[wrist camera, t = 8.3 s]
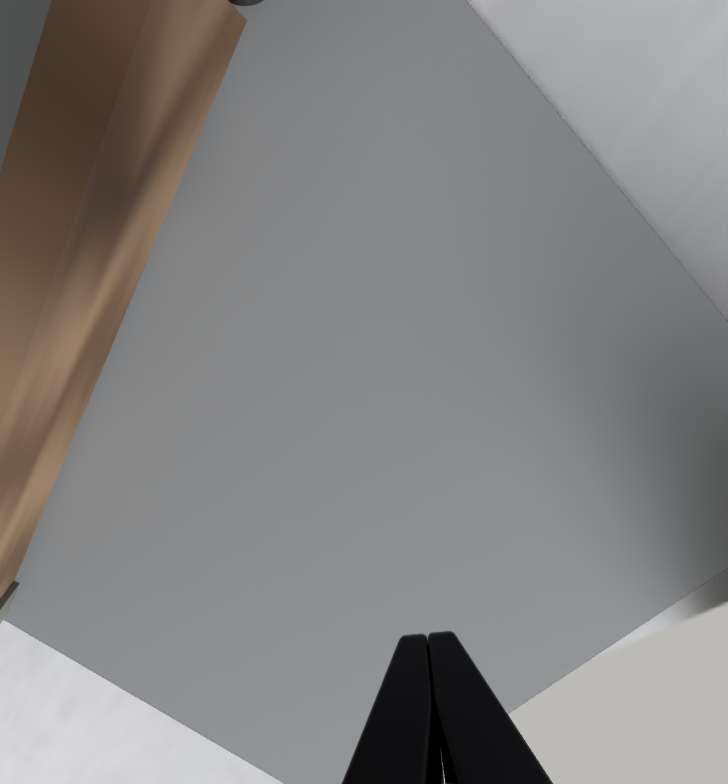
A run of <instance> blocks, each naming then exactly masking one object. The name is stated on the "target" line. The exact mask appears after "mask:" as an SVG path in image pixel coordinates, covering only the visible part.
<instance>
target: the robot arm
mask: <svg viewBox="0 0 728 784" xmlns="http://www.w3.org/2000/svg"><path fill="white" fill-rule="evenodd" d="M441 755H442V757H441ZM442 763H443V765H442ZM443 770H444V777H445V784H553V783H552V781H551V780H550V778H549V777H548V775H547V774H546V772H545V771H544V769H543V768H542V766H541V765H540V763H539V761H538V760H537V759H536V757H535V755H534V754H533V752H532V751H531V749H530V748H529V746H528V745H527V743H526V741H525V740H524V739H523V737H522V735H521V734H520V732H519V731H518V729H517V728H516V726H515V725H514V723H513V722H512V720H511V719H510V717H509V715H508V714H507V712H506V711H505V709H504V708H503V706H502V705H501V703H500V702H499V700H498V699H497V697H496V696H495V694H494V692H493V691H492V689H491V688H490V686H489V685H488V683H487V682H486V680H485V679H484V677H483V676H482V674H481V673H480V671H479V669H478V668H477V666H476V665H475V663H474V662H473V660H472V659H471V657H470V656H469V654H468V653H467V651H466V650H465V648H464V647H463V645H462V643H461V642H460V640H459V639H458V637H457V636H456V634H455V633H454V632H452V631H442V632H432V633H430V634H429V635H428V640H427V636H426V635H425V634H423V633H421V634H410V635H403V636H402V637H401V638H400V639H399V641H398V643H397V646H396V648H395V651H394V653H393V656H392V659H391V661H390V664H389V666H388V669H387V671H386V674H385V676H384V679H383V681H382V684H381V686H380V689H379V691H378V694H377V696H376V699H375V701H374V704H373V706H372V709H371V711H370V714H369V716H368V719H367V721H366V724H365V726H364V729H363V731H362V734H361V736H360V739H359V741H358V744H357V746H356V749H355V751H354V754H353V756H352V759H351V761H350V764H349V766H348V769H347V771H346V774H345V776H344V779H343V781H342V784H444V777H443Z"/></svg>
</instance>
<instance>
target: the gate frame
mask: <svg viewBox="0 0 728 784" xmlns="http://www.w3.org/2000/svg"><path fill="white" fill-rule="evenodd" d="M50 4H51V0H0V170H1V167H2V164H3V160H4V157H5V154H6V150H7V147H8V144H9V140H10V137H11V134H12V130H13V127H14V124H15V120H16V117H17V114H18V110H19V107H20V104H21V100H22V97H23V94H24V90H25V87H26V84H27V80H28V77H29V74H30V70H31V67H32V64H33V60H34V57H35V54H36V50H37V47H38V44H39V40H40V37H41V34H42V30H43V27H44V24H45V20H46V17H47V14H48V10H49V7H50ZM231 4H232V3H231ZM232 5H233V6H234V7H235V8H236V9H237V10H238V11H239V12H240V13H241V14H242V15H243V16H244V17H245V18H246V19H247V22H246V25H245V27H244V29H243V32H242V34H241V37H240V39H239V41H238V44H237V46H236V49H235V51H234V53H233V56H232V58H231V61H230V63H229V65H228V68H227V70H226V73H225V75H224V78H223V80H222V82H221V85H220V87H219V90H218V92H217V94H216V97H215V99H214V102H213V104H212V106H211V109H210V111H209V114H208V116H207V118H206V121H205V123H204V126H203V128H202V130H201V133H200V135H199V138H198V140H197V142H196V145H195V147H194V150H193V152H192V154H191V157H190V159H189V162H188V164H187V166H186V169H185V171H184V174H183V176H182V178H181V181H180V183H179V186H178V188H177V191H176V193H175V195H174V198H173V200H172V203H171V205H170V207H169V210H168V212H167V215H166V217H165V219H164V222H163V224H162V227H161V229H160V231H159V234H158V236H157V239H156V241H155V243H154V246H153V248H152V251H151V253H150V255H149V258H148V260H147V263H146V265H145V267H144V270H143V272H142V275H141V277H140V279H139V282H138V284H137V287H136V289H135V291H134V294H133V296H132V299H131V301H130V304H129V306H128V308H127V311H126V313H125V316H124V318H123V320H122V323H121V325H120V328H119V330H118V332H117V335H116V337H115V340H114V342H113V344H112V347H111V349H110V352H109V354H108V356H107V359H106V361H105V364H104V366H103V368H102V371H101V373H100V376H99V378H98V380H97V383H96V385H95V388H94V390H93V392H92V395H91V397H90V400H89V402H88V404H87V407H86V409H85V412H84V414H83V417H82V419H81V421H80V424H79V426H78V429H77V431H76V433H75V436H74V438H73V441H72V443H71V445H70V448H69V450H68V453H67V455H66V457H65V460H64V462H63V465H62V467H61V469H60V472H59V474H58V477H57V479H56V481H55V484H54V486H53V489H52V491H51V493H50V496H49V498H48V501H47V503H46V505H45V508H44V510H43V513H42V515H41V517H40V520H39V522H38V525H37V527H36V530H35V532H34V534H33V537H32V539H31V542H30V544H29V546H28V549H27V551H26V554H25V556H24V558H23V561H22V563H21V566H20V568H19V570H18V573H17V575H16V578H15V580H14V581H16V582H19V583H20V585H19V587H18V589H17V592H16V594H15V596H14V599H13V601H12V603H11V606H10V608H9V611H8V613H7V615H6V617H5V618H4V619H3V620H5V621H7V622H9V623H10V624H12V625H14V626H15V627H17V628H19V629H21V630H22V631H24V632H26V633H27V634H29V635H31V636H33V637H34V638H36V639H38V640H39V641H41V642H43V643H45V644H46V645H48V646H50V647H51V648H53V649H55V650H57V651H58V652H60V653H62V654H63V655H65V656H67V657H69V658H70V659H72V660H74V661H75V662H77V663H79V664H81V665H82V666H84V667H86V668H87V669H89V670H91V671H93V672H94V673H96V674H98V675H99V676H101V677H103V678H104V679H106V680H108V681H110V682H111V683H113V684H115V685H116V686H118V687H120V688H122V689H123V690H125V691H127V692H128V693H130V694H132V695H134V696H135V697H137V698H139V699H140V700H142V701H144V702H146V703H147V704H149V705H151V706H152V707H154V708H156V709H158V710H159V711H161V712H163V713H164V714H166V715H168V716H170V717H171V718H173V719H175V720H176V721H178V722H180V723H182V724H183V725H185V726H187V727H188V728H190V729H192V730H194V731H195V732H197V733H199V734H200V735H202V736H204V737H206V738H207V739H209V740H211V741H212V742H214V743H216V744H218V745H219V746H221V747H223V748H224V749H226V750H228V751H229V752H231V753H233V754H235V755H236V756H238V757H240V758H241V759H243V760H245V761H247V762H248V763H250V764H252V765H253V766H255V767H257V768H259V769H260V770H262V771H264V772H265V773H267V774H269V775H271V776H272V777H274V778H276V779H277V780H279V781H281V782H283V783H284V784H342V781H343V779H344V776H345V774H346V771H347V769H348V766H349V764H350V761H351V759H352V756H353V754H354V751H355V749H356V746H357V744H358V741H359V739H360V736H361V734H362V731H363V729H364V726H365V724H366V721H367V719H368V716H369V714H370V711H371V709H372V706H373V704H374V701H375V699H376V696H377V694H378V691H379V689H380V686H381V684H382V681H383V679H384V676H385V674H386V671H387V669H388V666H389V664H390V661H391V659H392V656H393V653H394V651H395V648H396V646H397V643H398V641H399V639H400V638H401V637H402V636H403V635H410V634H421V633H423V634H425V635H426V636H427V640H428V635H429V634H430V633H432V632H442V631H452V632H454V633H455V634H456V636H457V637H458V639H459V640H460V642H461V643H462V645H463V647H464V648H465V650H466V651H467V653H468V654H469V656H470V657H471V659H472V660H473V662H474V663H475V665H476V666H477V668H478V669H479V671H480V673H481V674H482V676H483V677H484V679H485V680H486V682H487V683H488V685H489V686H490V688H491V689H492V691H493V692H494V694H495V696H496V697H497V699H498V700H499V702H500V703H501V705H502V706H503V708H504V709H505V711H506V712H507V714H509V713H510V712H512V711H513V710H515V709H516V708H518V707H519V706H521V705H522V704H524V703H525V702H527V701H528V700H530V699H531V698H533V697H534V696H536V695H537V694H539V693H540V692H542V691H543V690H545V689H546V688H548V687H549V686H551V685H552V684H554V683H555V682H557V681H558V680H560V679H561V678H563V677H564V676H566V675H567V674H569V673H570V672H572V671H573V670H575V669H577V668H578V667H579V666H581V665H583V664H584V663H586V662H587V661H589V660H590V659H592V658H593V657H595V656H596V655H598V654H599V653H601V652H602V651H604V650H605V649H607V648H608V647H610V646H611V645H613V644H614V643H616V642H617V641H619V640H620V639H622V638H623V637H625V636H626V635H628V634H629V633H631V632H632V631H634V630H635V629H637V628H638V627H640V626H641V625H643V624H644V623H646V622H647V621H649V620H650V619H652V618H653V617H655V616H656V615H658V614H659V613H661V612H662V611H664V610H665V609H667V608H668V607H670V606H671V605H673V604H674V603H676V602H677V601H679V600H680V599H682V598H683V597H685V596H686V595H688V594H689V593H691V592H692V591H694V590H695V589H697V588H698V587H700V586H701V585H703V584H704V583H706V582H707V581H709V580H710V579H712V578H713V577H715V576H716V575H718V574H719V573H721V572H722V571H724V570H725V569H727V568H728V321H727V320H726V318H725V317H724V316H723V315H722V313H721V312H720V311H719V310H718V308H717V307H716V306H715V305H714V304H713V302H712V301H711V300H710V299H709V297H708V296H707V295H706V294H705V293H704V291H703V290H702V289H701V288H700V286H699V285H698V284H697V283H696V281H695V280H694V279H693V278H692V277H691V275H690V274H689V273H688V272H687V270H686V269H685V268H684V267H683V266H682V264H681V263H680V262H679V261H678V259H677V258H676V257H675V256H674V255H673V253H672V252H671V251H670V250H669V248H668V247H667V246H666V245H665V243H664V242H663V241H662V240H661V239H660V237H659V236H658V235H657V234H656V232H655V231H654V230H653V229H652V228H651V226H650V225H649V224H648V223H647V221H646V220H645V219H644V218H643V217H642V215H641V214H640V213H639V212H638V210H637V209H636V208H635V207H634V205H633V204H632V203H631V202H630V201H629V199H628V198H627V197H626V196H625V194H624V193H623V192H622V191H621V190H620V188H619V187H618V186H617V185H616V183H615V182H614V181H613V180H612V178H611V177H610V176H609V175H608V174H607V172H606V171H605V170H604V169H603V167H602V166H601V165H600V164H599V163H598V161H597V160H596V159H595V158H594V156H593V155H592V154H591V153H590V152H589V150H588V149H587V148H586V147H585V145H584V144H583V143H582V142H581V140H580V139H579V138H578V137H577V136H576V134H575V133H574V132H573V131H572V129H571V128H570V127H569V126H568V125H567V123H566V122H565V121H564V120H563V118H562V117H561V116H560V115H559V114H558V112H557V111H556V110H555V109H554V107H553V106H552V105H551V104H550V102H549V101H548V100H547V99H546V98H545V96H544V95H543V94H542V93H541V91H540V90H539V89H538V88H537V87H536V85H535V84H534V83H533V82H532V80H531V79H530V78H529V77H528V76H527V74H526V73H525V72H524V71H523V69H522V68H521V67H520V66H519V64H518V63H517V62H516V61H515V60H514V58H513V57H512V56H511V55H510V53H509V52H508V51H507V50H506V49H505V47H504V46H503V45H502V44H501V42H500V41H499V40H498V39H497V37H496V36H495V35H494V34H493V33H492V31H491V30H490V29H489V28H488V26H487V25H486V24H485V23H484V22H483V20H482V19H481V18H480V17H479V15H478V14H477V13H476V12H475V11H474V9H473V8H472V7H471V6H470V4H469V3H468V2H467V1H466V0H264V1H262V2H260V3H258V4H256V5H252V6H238V5H234V4H232ZM441 757H442V755H441Z"/></svg>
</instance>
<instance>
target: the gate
mask: <svg viewBox="0 0 728 784" xmlns="http://www.w3.org/2000/svg"><path fill="white" fill-rule="evenodd" d="M262 1H264V0H51V4H50V7H49V10H48V14H47V17H46V20H45V24H44V27H43V30H42V34H41V37H40V40H39V44H38V47H37V50H36V54H35V57H34V60H33V64H32V67H31V70H30V74H29V77H28V80H27V84H26V87H25V90H24V94H23V97H22V100H21V104H20V107H19V110H18V114H17V117H16V120H15V124H14V127H13V130H12V134H11V137H10V140H9V144H8V147H7V150H6V154H5V157H4V160H3V164H2V167H1V170H0V624H1V622H2V621H3V619H4V618H5V617H6V615H7V613H8V611H9V608H10V606H11V603H12V601H13V599H14V596H15V594H16V592H17V589H18V587H19V585H20V583H19V582H16V581H14V580H15V578H16V575H17V573H18V570H19V568H20V566H21V563H22V561H23V558H24V556H25V554H26V551H27V549H28V546H29V544H30V542H31V539H32V537H33V534H34V532H35V530H36V527H37V525H38V522H39V520H40V517H41V515H42V513H43V510H44V508H45V505H46V503H47V501H48V498H49V496H50V493H51V491H52V489H53V486H54V484H55V481H56V479H57V477H58V474H59V472H60V469H61V467H62V465H63V462H64V460H65V457H66V455H67V453H68V450H69V448H70V445H71V443H72V441H73V438H74V436H75V433H76V431H77V429H78V426H79V424H80V421H81V419H82V417H83V414H84V412H85V409H86V407H87V404H88V402H89V400H90V397H91V395H92V392H93V390H94V388H95V385H96V383H97V380H98V378H99V376H100V373H101V371H102V368H103V366H104V364H105V361H106V359H107V356H108V354H109V352H110V349H111V347H112V344H113V342H114V340H115V337H116V335H117V332H118V330H119V328H120V325H121V323H122V320H123V318H124V316H125V313H126V311H127V308H128V306H129V304H130V301H131V299H132V296H133V294H134V291H135V289H136V287H137V284H138V282H139V279H140V277H141V275H142V272H143V270H144V267H145V265H146V263H147V260H148V258H149V255H150V253H151V251H152V248H153V246H154V243H155V241H156V239H157V236H158V234H159V231H160V229H161V227H162V224H163V222H164V219H165V217H166V215H167V212H168V210H169V207H170V205H171V203H172V200H173V198H174V195H175V193H176V191H177V188H178V186H179V183H180V181H181V178H182V176H183V174H184V171H185V169H186V166H187V164H188V162H189V159H190V157H191V154H192V152H193V150H194V147H195V145H196V142H197V140H198V138H199V135H200V133H201V130H202V128H203V126H204V123H205V121H206V118H207V116H208V114H209V111H210V109H211V106H212V104H213V102H214V99H215V97H216V94H217V92H218V90H219V87H220V85H221V82H222V80H223V78H224V75H225V73H226V70H227V68H228V65H229V63H230V61H231V58H232V56H233V53H234V51H235V49H236V46H237V44H238V41H239V39H240V37H241V34H242V32H243V29H244V27H245V25H246V22H247V19H246V18H245V17H244V16H243V15H242V14H241V13H240V12H239V11H238V10H237V9H236V8H235V7H234V6H233V5H232V4H234V5H238V6H252V5H256V4H258V3H260V2H262ZM231 3H232V4H231Z"/></svg>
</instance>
